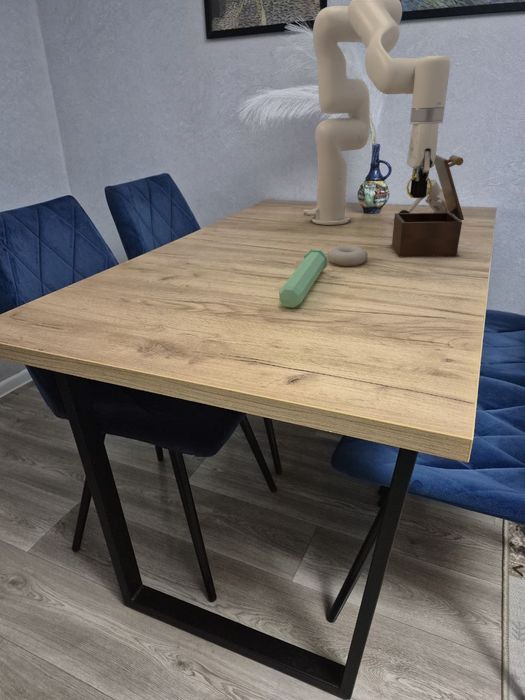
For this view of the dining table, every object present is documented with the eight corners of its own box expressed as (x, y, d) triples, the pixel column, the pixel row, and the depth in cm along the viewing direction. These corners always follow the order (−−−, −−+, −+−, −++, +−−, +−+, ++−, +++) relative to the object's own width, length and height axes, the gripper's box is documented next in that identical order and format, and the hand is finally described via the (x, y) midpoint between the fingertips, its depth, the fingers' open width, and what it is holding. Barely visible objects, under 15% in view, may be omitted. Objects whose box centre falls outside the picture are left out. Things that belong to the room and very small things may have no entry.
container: (295, 281, 90) (323, 245, 111) (269, 290, 93) (300, 253, 114) (307, 308, 92) (331, 267, 113) (280, 316, 95) (309, 275, 116)
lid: (443, 160, 111) (464, 151, 110) (432, 155, 121) (450, 147, 120) (460, 220, 117) (480, 212, 116) (448, 211, 128) (466, 203, 126)
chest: (398, 256, 123) (402, 222, 119) (391, 245, 133) (394, 213, 129) (456, 256, 121) (462, 222, 117) (444, 244, 132) (449, 212, 128)
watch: (405, 199, 121) (407, 174, 118) (406, 197, 123) (408, 173, 121) (429, 199, 119) (432, 174, 116) (430, 197, 121) (433, 173, 118)
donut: (352, 270, 114) (374, 260, 121) (353, 257, 113) (375, 247, 119) (319, 263, 121) (341, 253, 127) (319, 250, 119) (342, 241, 125)
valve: (409, 245, 166) (387, 215, 159) (447, 203, 165) (426, 170, 158) (428, 250, 157) (406, 218, 150) (468, 205, 157) (448, 171, 149)
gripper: (404, 116, 120) (397, 191, 128) (418, 118, 106) (408, 202, 114) (434, 115, 119) (425, 191, 128) (452, 117, 105) (440, 202, 113)
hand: (417, 195), depth 121 cm, fingers closed on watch, 2 cm apart
